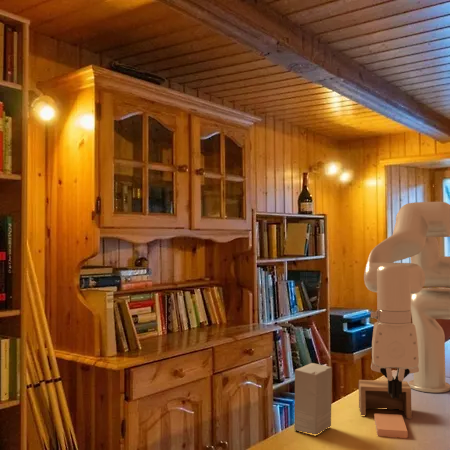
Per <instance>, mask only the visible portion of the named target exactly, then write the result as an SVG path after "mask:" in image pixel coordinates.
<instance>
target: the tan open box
mask: <svg viewBox="0 0 450 450" xmlns="http://www.w3.org/2000/svg"><path fill="white" fill-rule="evenodd" d="M359 408H360V409H359ZM366 408H387V409H399V410H398V411H402V412H403V411H404V412H403V413H405V414H404V416H405V415H406V416H405V418H406V419H407V418H412V388H410V386H409V382H408V381H406V380H405V381H404V380H403V381H402V394H399V399H397V398H396V397H395V398H392V397H391V394H388V380H374V379H373V380H370V379H368V380H367V379H358V409H359V413H360V412H361V414H360V416H361V415H366V416H367V412H366V410H367V409H366Z"/></svg>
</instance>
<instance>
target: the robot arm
mask: <svg viewBox="0 0 450 450" xmlns="http://www.w3.org/2000/svg"><path fill="white" fill-rule="evenodd" d="M392 231H393V232H392V235H390V236H389V237H387V238H384V240H382V241H381V242H380V243H378V244H377V245H375V247H373V249H371V251H370V253H369V255H368V258H367V261H366V264H365V268H364V273H363V281H364V285H365V287H366V288H367V290H368V291H370V292H372V293H376V296H377V297H376V303H377V305H376V307H377V308H376V310H375V311H371V312H370V318H372V319H375V320H376V322H374V324H373V329H372V330H373V331H372V340H371V364H370V368H371V371H373V372H377V373H381V374H382V375H383V376H384V377H385V378H386V379H387V381H388V394H391V397H392V398H395V397H396V398H397V399H399V394H402V381H404V379H405V378H406V377H407V376H408V375H410V374H413V379H411V380H410V381H408V384H409V386H410V388H411V390H415V391H418V392H423V393H424V392H425V393H431V394H432V393H437V394H438V393H447V392H449V391H450V383H448V382H446V344H445V343H446V339H445V337H446V336H445V331H444V329H443V327H442V326H441V325H440V323H439V322H438V321H437V320H450V256H448V255H447V256H446V255H445V256H443V255H440V247H439V245H440V244H439V241H438V238H449V237H450V203H448V202H444V201H424V202H423V201H420V202H419V201H417V202H416V201H415V202H409V203H406V204H403V206H401V207H400V208H399V210H398V212H397V214H396V215H395V224H394V228H393V230H392ZM408 258H410V262H399V261H403V260H406V259H408ZM392 369H397V370H396V376H395V377H394V376H393V371H392Z"/></svg>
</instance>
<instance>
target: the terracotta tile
mask: <svg viewBox="0 0 450 450" xmlns="http://www.w3.org/2000/svg"><path fill="white" fill-rule="evenodd" d="M373 416H374V417H373V418H374V419H373V421H374V420H375V421H374V425H376V426H375V430H376V435H378V436H377V437H381V436H388V437H387V438H397V437H400V439H408V437H409V435H408V429H407V426H406V422H405V420H404V417H403V414H394V413H393V414H392V413H391V414H389V413H375V412H374V413H373Z"/></svg>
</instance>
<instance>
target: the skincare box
mask: <svg viewBox="0 0 450 450" xmlns="http://www.w3.org/2000/svg"><path fill="white" fill-rule="evenodd" d="M332 372H333V367H332V366H328V365H322V364H318V363H315V362H311V363H307V364H306V365H304V366H300V367H298V368H296V369H295V370H294V431H295V430H297V431H302V432H307V433H312V434H318V433H320V432H321V431H323V430H325V429H326V428H328V427H330V426H331V427H332V391H333V389H332V385H333V384H332V383H333V382H332V379H333V373H332ZM331 427H330V428H331ZM328 429H329V428H328ZM325 431H326V430H325Z"/></svg>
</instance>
